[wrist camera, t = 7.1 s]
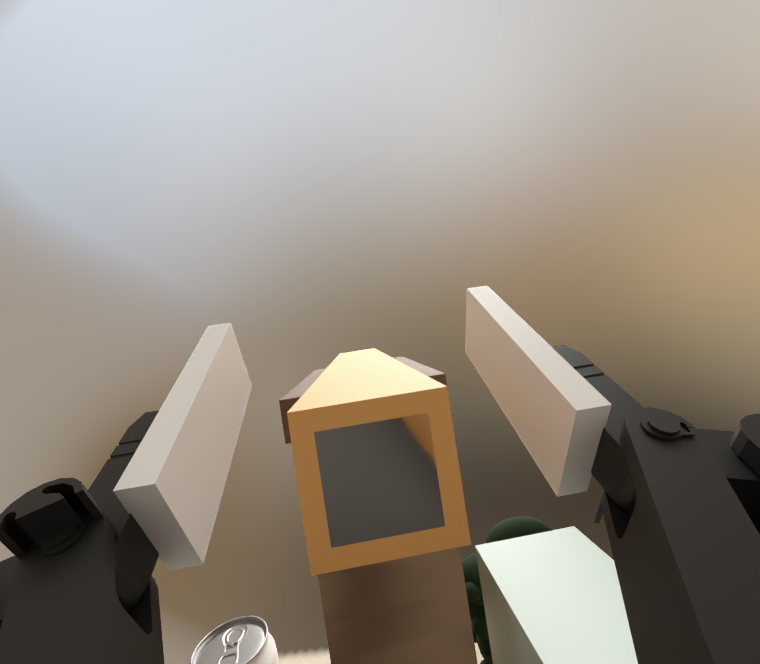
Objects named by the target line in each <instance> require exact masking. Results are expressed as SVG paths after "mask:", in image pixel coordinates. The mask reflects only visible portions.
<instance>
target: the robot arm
mask: <svg viewBox="0 0 760 664" xmlns="http://www.w3.org/2000/svg"><path fill="white" fill-rule="evenodd" d="M465 353H466V354H467V356H468V357H469V359H470V360H471V362H472V363H473V365H474V366H475V368H476V370H477V371H478V373H479V374H480V376H481V378H482V379H483V381H484V382H485V384H486V385H487V387H488V388H489V390H490V391H491V393H492V395H493V396H494V398H495V400H496V401H497V403H498V404H499V406H500V407H501V409H502V411H503V412H504V414H505V415H506V417H507V418H508V420H509V422H510V423H511V425H512V426H513V428H514V429H515V431H516V432H517V434H518V436H519V437H520V439H521V440H522V442H523V444H524V445H525V446H526V448H527V450H528V451H529V452H530V454H531V456H532V458H533V459H534V461H535V462H536V464H537V465H538V467H539V469H540V470H541V472H542V473H543V475H544V476H545V478H546V480H547V481H548V482H549V484H550V486H551V487H552V489H553V491H554V492H555V493H556V495H557V496H563V495H568V494H573V493H579V492H584V491H587V489H588V486H589V483H590V479H591V476H592V475H593V476H594V477H595V478H596V480H597V481H598V482H599V484H600V485H601V486H602V487H603V488H602V492H601V495H600V498H599V501H598V504H597V508H596V511H595V514H594V522H595V523H600V519H601V516H602V514H603V515H604V519H605V524H606V528H607V532H608V537H609V541H610V545H611V550H612V554H613V558H614V563H615V567H616V571H617V575H618V580H619V584H620V588H621V593H622V597H623V601H624V606H625V610H626V614H627V618H628V623H629V627H630V631H631V636H632V640H633V644H634V649H635V653H636V657H637V662H638V664H760V414H753V415H749V416H745V417H744V418H743V419H742V420H741V421H740V422H739V424H738V426H737V428H736V430H735V432H732V431H719V430H705V429H696V428H695V427H694V426H693V425H692V424H691V423H689V422H687V421H686V420H685V419H683V418H682V417H680V416H678V415H675V414H673V413H671V412H668V411H665V410H660V409H656V408H644V407H643V406H642V405H640V404H639V403H638V402H637V401H636V400H635V399H633V398H632V397H631V396H630V395H629V394H628V393H626V392H625V391H624V390H623V389H622V388H621V387H620V386H619V385H617V384H616V383H615V382H614V381H613V380H612V379H610V378H609V377H608V376H607V375H604V372H602V371H601V370H600V369H599V368H598V367H597V366H594V364H593V363H592V362H591V361H589V359H587V358H586V357H585V356H584V355H583V354H582V353H580V352H578V351H576V350H574V349H572V348H569V347H567V346H565V345H560V346H554V347H551V346H550V345H549V344H548V343H547V342H546V341H545V340H544V339H543V338H541V336H539V335H538V334H537V333H536V332H535V331H534V330H533V329H532V328H531V327H530V326H529V325H528V324H527V323H526V322H525V321H524V320H523V319H522V318H521V317H520V316H519V315H517V314H516V313H515V312H514V311H513V310H512V309H511V308H510V307H509V306H508V305H507V304H506V303H505V302H504V301H503V300H502V299H501V298H500V297H499V296H497V294H495V293H494V292H493V291H492V290H491V289H490V288H489V287H488V286H481V287H474V288H467V302H466V343H465ZM251 388H252V384H251V381H250V378H249V375H248V372H247V369H246V366H245V363H244V361H243V358H242V354H241V351H240V348H239V346H238V342H237V340H236V337H235V334H234V331H233V328H232V325H231V323H225V324H218V325H211V326H208V327H207V329H206V331H205V332H204V334H203V336H202V338H201V339H200V341H199V343H198V345H197V346H196V348H195V350H194V351H193V353H192V355H191V357H190V358H189V360H188V362H187V364H186V365H185V367H184V369H183V370H182V372H181V374H180V376H179V378H178V379H177V381H176V383H175V384H174V386H173V388H172V390H171V391H170V393H169V395H168V397H167V398H166V400H165V402H164V403H163V405H162V407H161V409H160V410H159V411H154V412H147V413H145V414H143V415H142V416H141V417H140V418H139V419H138V420H137V421H135V422H134V423H133V424H132V425H131V426H130V427H129V428H128V429H127V431H126V433H125V434H124V436H123V437H122V439H121V440H120V442H119V446H117V447H116V448H115V450H114V451H113V453H112V454H111V456H110V457H111V458H110V459H109V460H107V462H106V463H105V465H104V467H103V468H102V470H101V471H100V473H99V474H98V476H97V477H96V479H95V480H94V482H93V484H92V485H91V487H90V488H89V490H87V489H86V488H85V486H84V485H83V484H82V482H81V481H78V480H77V479H74V478H60V479H57V480H54V481H50V482H47V483H44V484H42V485H40V486H38V487H36V488H34V489H32V490H31V491H29V492H27V493H26V494H24V495H23V496H21V497H20V498H19V499H17V500H16V501H14V502H13V503H12V504H10V505H9V506H8V507H7V508H6V509H5V510H4V511H3V512H2V513H1V514H0V541H1V542H2V543H3V544H4V545H5V546H6V547H7V548H8V549H9V550H10V551H11V552H12V553H13V554H15V556H13V557H11V558H8V559H6V560H3V561H1V562H0V664H164V654H163V642H162V631H161V619H160V607H159V594H158V587H157V584H156V582H155V579H154V578H153V577H152V572H153V569H154V567H155V564H156V562H157V559H158V556H159V557H160V559H161V560H162V561H163V563H164V565H165V566H166V568H167V569H168V570H174V569H179V568H185V567H190V566H195V565H200V564H203V563H204V559H205V556H206V552H207V548H208V545H209V541H210V538H211V534H212V530H213V527H214V523H215V519H216V516H217V512H218V509H219V505H220V501H221V498H222V494H223V490H224V486H225V483H226V479H227V476H228V472H229V468H230V465H231V461H232V457H233V454H234V450H235V446H236V442H237V439H238V435H239V432H240V428H241V424H242V420H243V417H244V413H245V410H246V406H247V402H248V399H249V395H250V392H251Z"/></svg>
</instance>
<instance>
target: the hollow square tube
mask: <svg viewBox="0 0 760 664" xmlns="http://www.w3.org/2000/svg"><path fill="white" fill-rule="evenodd" d="M287 417H288V424H289V431H290V437H291V444H292V450H293V457H294V463H295V470H296V477H297V484H298V490H299V497H300V504H301V511H302V517H303V524H304V531H305V537H306V544H307V551H308V557H309V563H310V570H311V576H314V575H319V574H324V573H329V572H334V571H339V570H344V569H349V568H354V567H359V566H364V565H370V564H375V563H380V562H385V561H390V560H395V559H400V558H405V557H410V556H415V555H420V554H425V553H431V552H436V551H441V550H446V549H451V548H456V547H460V546H466V545H470V544H471V541H470V535H469V528H468V521H467V515H466V508H465V502H464V495H463V489H462V482H461V475H460V469H459V462H458V456H457V449H456V442H455V436H454V429H453V423H452V416H451V409H450V403H449V396H448V390H447V386H445V385H443V384H441V383H439V382H438V381H436V380H434V379H432V378H430V377H428V376H426V375H424V374H422V373H421V372H419V371H417V370H415V369H413V368H411V367H409V366H407V365H405V364H403V363H402V362H400V361H398V360H396V359H394V358H392V357H390V356H388V355H386V354H384V353H383V352H381V351H379V350H377V349H375V348H373V349H366V350H360V351H353V352H347V353H340V354H339V355H338V356H337V357H336V358H335V359H334V361H333V362H332V363H331V364H330V365H329V366H328V367H327V368H326V369H325V371H324V372H323V373H322V374H321V375H320V376H319V377H318V378H317V380H316V381H315V382H314V383H313V384H312V385H311V386H310V387H309V388H308V390H307V391H306V392H305V393H304V394H303V395H302V396H301V397H300V399H299V400H298V401H297V402H296V403H295V404H294V405H293V406H292V407H291V409H290V410H289V411H288V412H287Z"/></svg>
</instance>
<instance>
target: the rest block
mask: <svg viewBox="0 0 760 664" xmlns="http://www.w3.org/2000/svg"><path fill="white" fill-rule="evenodd" d="M475 549H476V555H477V562H478V569H479V575H480V582H481V588H482V595H483V602H484V608H485V615H486V621H487V628H488V634H489V641H490V648H491V654H492V661H493V664H638V662H637V657H636V653H635V649H634V644H633V640H632V636H631V631H630V627H629V623H628V618H627V614H626V610H625V606H624V601H623V597H622V593H621V588H620V584H619V580H618V575H617V571H616V567H615V563H614V560H612V559H611V558H610V557H609V556H608V555H607V554H606V553H604V552H603V551H602V550H601V549H600V548H599V547H597V546H596V545H595V544H594V543H593V542H592V541H590V540H589V539H588V538H587V537H586V536H585V535H583V534H582V533H581V532H580V531H579V530H578V529H576V528H575V527H574V526H573V527H568V528H563V529H558V530H552V531H547V532H542V533H537V534H532V535H527V536H522V537H517V538H512V539H507V540H502V541H497V542H492V543H486V544H482V545H477V546H475Z"/></svg>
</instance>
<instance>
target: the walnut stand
mask: <svg viewBox="0 0 760 664" xmlns="http://www.w3.org/2000/svg"><path fill="white" fill-rule="evenodd" d="M394 359H396V360H398V361H400V362H402V363H403V364H405V365H407V366H409V367H411V368H413V369H415V370H417V371H419V372H421V373H422V374H424V375H426V376H428V377H430V378H432V379H434V380H436V381H438V382H439V383H441V384H443V385H445V386H447V383H446V376H445V374H444V373H442V372H440V371H437V370H434V369H432V368H430V367H427V366H425V365H422V364H420V363H417V362H415V361H412V360H409V359H407V358H404V357H397V358H394ZM324 371H325V369H320V370H315V371H314V372H313V373H311V374H310V375H309V376H308V377H306V378H305V379H304V380H303V381H302V382H301V383H299V384H298V385H297V386H296V387H295V388H293V389H292V390H291V391H290V392H289V393H287V394H286V395H285V396H284V397H283V398H281V399H280V400H279V402H280V409H281V416H282V422H283V429H284V436H285V442H286V444H287V443H291V437H290V431H289V424H288V417H287V412H288V411H289V410H290V409H291V407H292V406H293V405H294V404H295V403H296V402H297V401H298V400H299V399H300V397H301V396H302V395H303V394H304V393H305V392H306V391H307V390H308V388H309V387H310V386H311V385H312V384H313V383H314V382H315V381H316V380H317V378H318V377H319V376H320V375H321V374H322V373H323V372H324ZM447 390H448V389H447ZM449 403H450V402H449ZM318 579H319V585H320V592H321V599H322V606H323V612H324V619H325V625H326V632H327V639H328V646H329V652H330V659H331V664H477V658H476V651H475V645H474V638H473V632H472V625H471V618H470V612H469V605H468V599H467V592H466V586H465V579H464V572H463V566H462V560H461V553H460V547H456V548H451V549H446V550H441V551H436V552H431V553H425V554H420V555H415V556H410V557H405V558H400V559H395V560H390V561H385V562H380V563H375V564H370V565H364V566H359V567H354V568H349V569H344V570H339V571H334V572H329V573H324V574H319V575H318Z"/></svg>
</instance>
